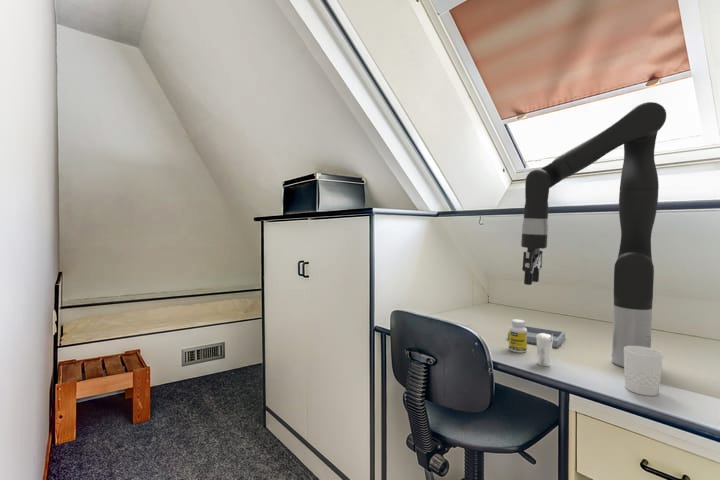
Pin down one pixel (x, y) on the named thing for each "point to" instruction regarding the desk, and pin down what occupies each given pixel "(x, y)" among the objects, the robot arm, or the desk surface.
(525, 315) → the desk surface
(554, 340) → the tray
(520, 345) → the supplement bottle
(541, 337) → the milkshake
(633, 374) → the white cup
